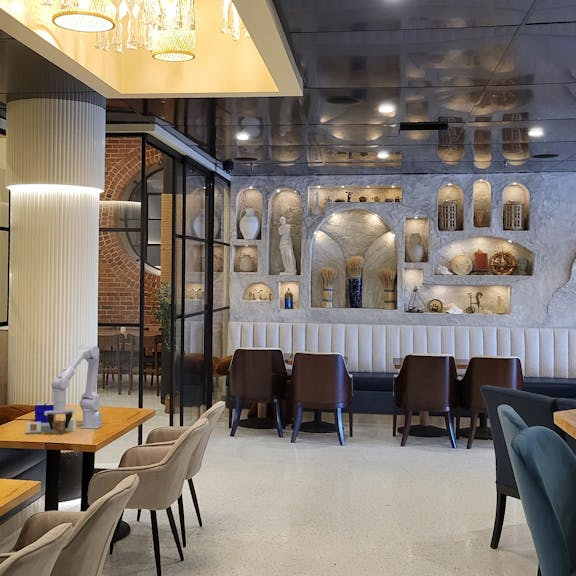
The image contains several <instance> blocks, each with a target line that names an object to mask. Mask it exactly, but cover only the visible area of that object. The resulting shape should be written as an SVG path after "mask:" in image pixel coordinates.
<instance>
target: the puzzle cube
mask: <svg viewBox="0 0 576 576" xmlns="http://www.w3.org/2000/svg"><path fill="white" fill-rule="evenodd" d="M51 410H54V401H52V402H51V401H50V402H48V401H47V402H37V403H36V404H35V405H34V422H41V423H49V422H48V419H47V417H46V416H45V415H44V411H51ZM52 416H53V423H54V422H56V419H57V418H56V415H52Z"/></svg>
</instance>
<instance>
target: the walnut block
mask: <svg viewBox="0 0 576 576" xmlns="http://www.w3.org/2000/svg"><path fill="white" fill-rule="evenodd" d="M65 430H66V422H65V421H64V420H63V421H58V420H57V421H56V420H55V421H54V423H53V432H52V435H53V436H55V435H56V436H63V435H65V434H66V431H65Z"/></svg>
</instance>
